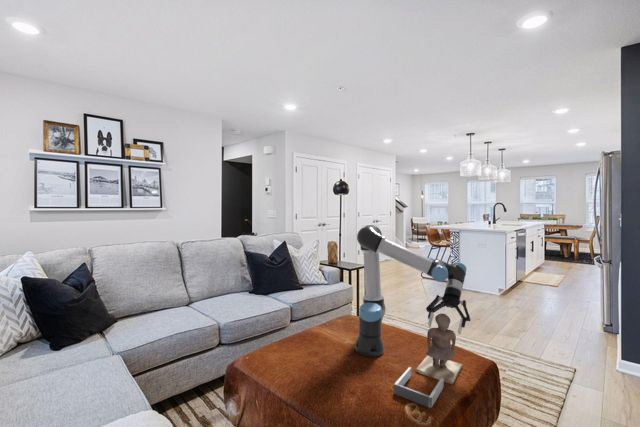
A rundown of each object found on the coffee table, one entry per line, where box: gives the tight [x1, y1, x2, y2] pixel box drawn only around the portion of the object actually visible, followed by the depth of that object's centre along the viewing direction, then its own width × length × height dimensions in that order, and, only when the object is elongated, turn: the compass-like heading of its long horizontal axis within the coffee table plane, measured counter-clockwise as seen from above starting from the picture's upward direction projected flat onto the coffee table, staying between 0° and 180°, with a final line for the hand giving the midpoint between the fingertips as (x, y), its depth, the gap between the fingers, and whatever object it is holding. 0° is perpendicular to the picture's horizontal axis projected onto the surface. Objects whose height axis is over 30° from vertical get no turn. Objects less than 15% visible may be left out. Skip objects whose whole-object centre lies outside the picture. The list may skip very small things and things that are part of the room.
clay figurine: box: [425, 312, 457, 369], centre depth 149 cm, size 13×10×25 cm
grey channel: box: [393, 366, 445, 409], centre depth 132 cm, size 15×17×4 cm
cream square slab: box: [415, 354, 463, 385], centre depth 149 cm, size 16×18×2 cm
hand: (443, 329), depth 149 cm, fingers open, 13 cm apart
